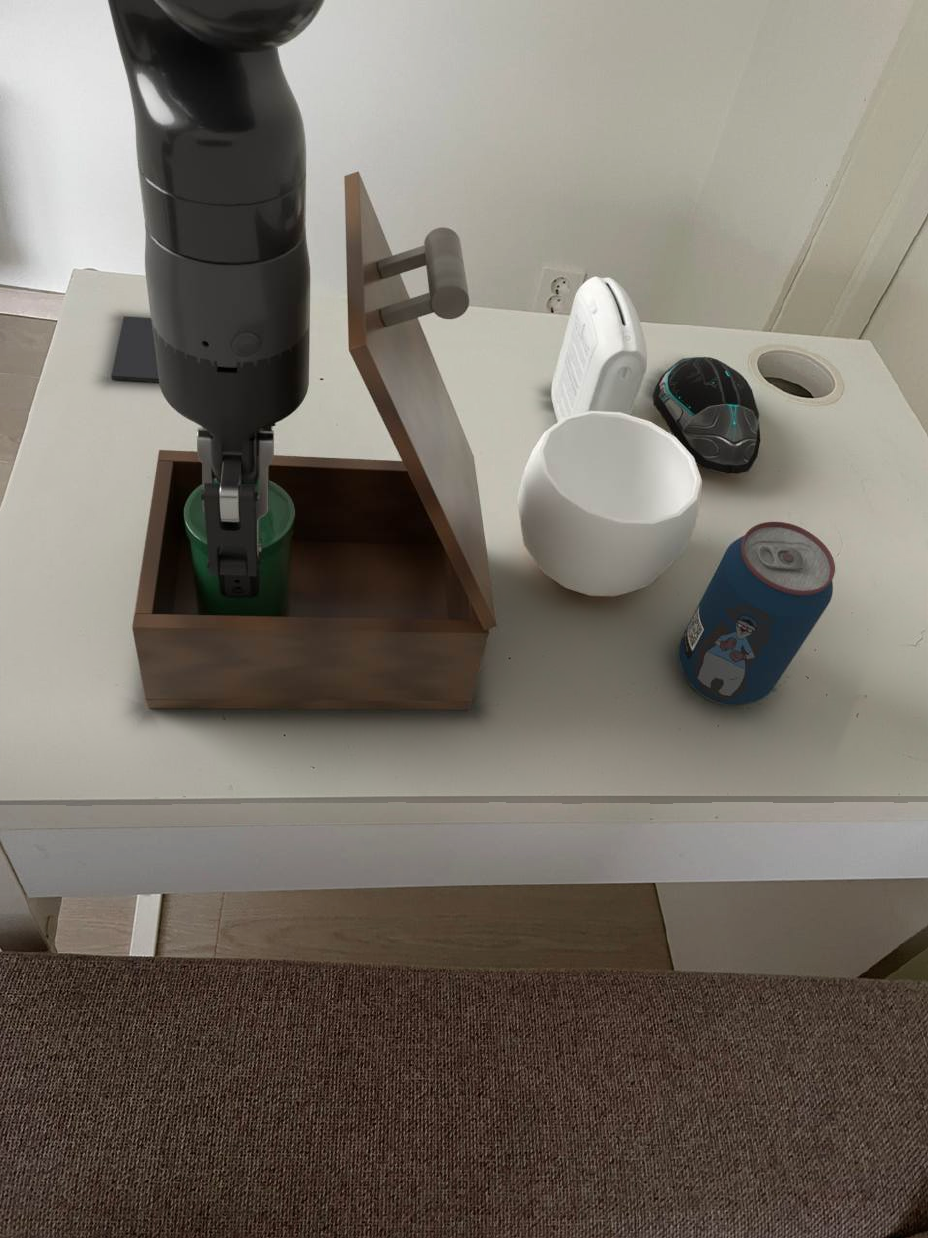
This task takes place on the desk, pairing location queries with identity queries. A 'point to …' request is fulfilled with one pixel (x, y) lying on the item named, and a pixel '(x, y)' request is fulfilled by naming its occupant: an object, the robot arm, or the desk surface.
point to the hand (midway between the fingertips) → (243, 539)
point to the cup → (607, 502)
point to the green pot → (273, 559)
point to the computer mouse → (710, 413)
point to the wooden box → (313, 601)
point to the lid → (417, 379)
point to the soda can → (756, 613)
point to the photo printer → (600, 353)
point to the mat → (136, 352)
